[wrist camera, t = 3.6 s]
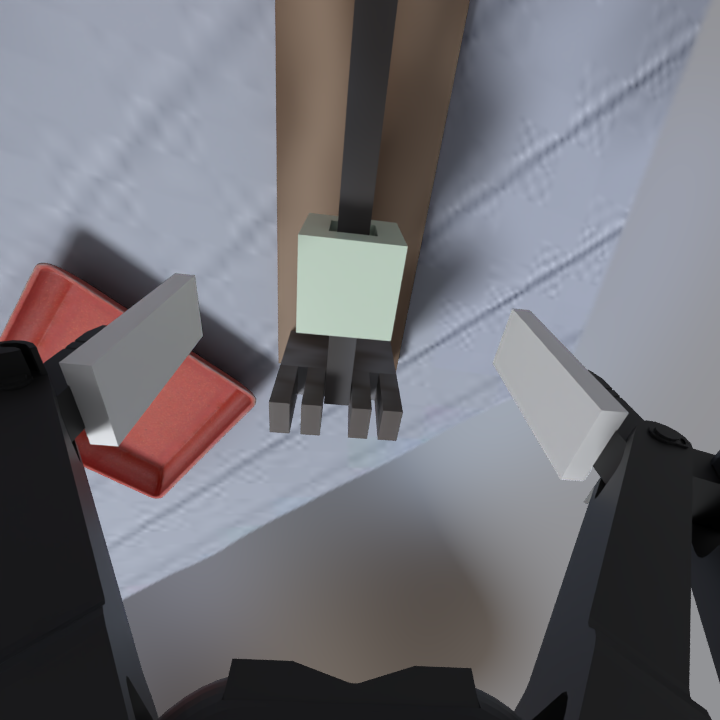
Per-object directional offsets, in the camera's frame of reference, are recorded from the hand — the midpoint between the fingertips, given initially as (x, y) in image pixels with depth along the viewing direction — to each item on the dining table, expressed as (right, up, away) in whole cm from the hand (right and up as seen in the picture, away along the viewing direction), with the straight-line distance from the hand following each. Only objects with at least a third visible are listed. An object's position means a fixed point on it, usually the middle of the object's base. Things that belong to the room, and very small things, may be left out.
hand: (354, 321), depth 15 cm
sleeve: (0, +4, +7) cm, 8 cm away
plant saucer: (-21, -4, +19) cm, 28 cm away
